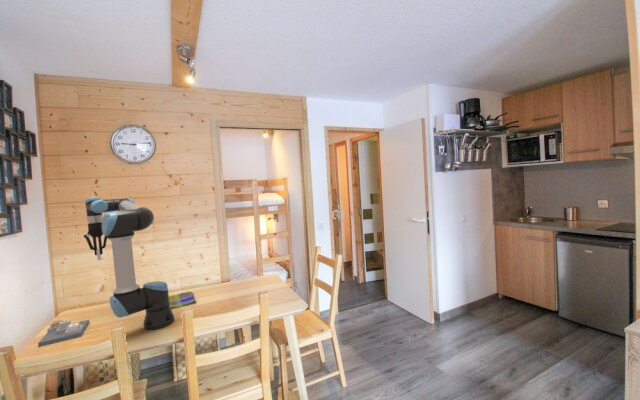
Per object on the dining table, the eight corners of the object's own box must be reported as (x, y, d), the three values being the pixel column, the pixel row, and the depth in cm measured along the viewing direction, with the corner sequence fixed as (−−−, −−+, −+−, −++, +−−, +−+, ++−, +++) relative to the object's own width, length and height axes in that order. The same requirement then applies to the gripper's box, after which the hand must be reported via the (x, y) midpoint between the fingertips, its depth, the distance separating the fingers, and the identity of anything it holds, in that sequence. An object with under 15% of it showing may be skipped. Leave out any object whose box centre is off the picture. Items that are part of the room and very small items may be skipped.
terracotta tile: (60, 327, 163) (59, 322, 163) (51, 329, 161) (50, 324, 161) (62, 324, 166) (62, 319, 166) (53, 327, 164) (52, 321, 164)
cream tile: (78, 330, 157) (77, 324, 157) (68, 332, 155) (67, 327, 155) (79, 327, 161) (79, 322, 160) (70, 329, 159) (69, 324, 159)
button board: (81, 336, 156) (80, 329, 156) (38, 346, 148) (37, 339, 148) (89, 322, 174) (88, 316, 174) (51, 331, 166) (50, 324, 166)
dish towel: (166, 311, 183) (166, 307, 183) (166, 300, 205) (165, 296, 204) (196, 304, 191) (196, 300, 191) (193, 293, 213) (192, 290, 213)
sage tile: (68, 327, 160) (68, 321, 160) (59, 329, 158) (58, 323, 158) (70, 324, 163) (70, 319, 163) (61, 326, 162) (60, 321, 161)
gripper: (109, 220, 189) (112, 257, 190) (83, 223, 183) (87, 260, 184) (107, 221, 183) (111, 259, 184) (80, 224, 177) (85, 263, 178)
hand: (99, 259), depth 184 cm, fingers closed
